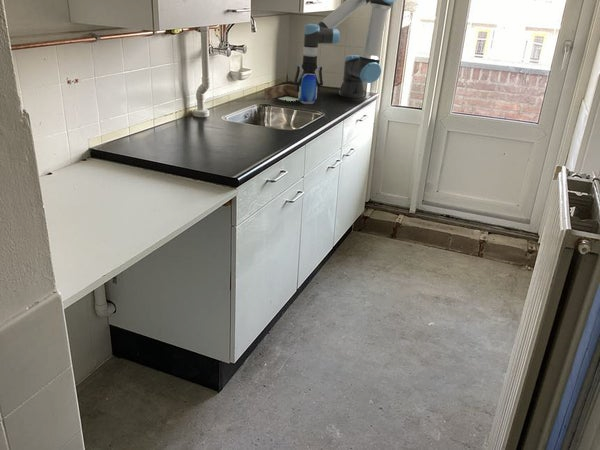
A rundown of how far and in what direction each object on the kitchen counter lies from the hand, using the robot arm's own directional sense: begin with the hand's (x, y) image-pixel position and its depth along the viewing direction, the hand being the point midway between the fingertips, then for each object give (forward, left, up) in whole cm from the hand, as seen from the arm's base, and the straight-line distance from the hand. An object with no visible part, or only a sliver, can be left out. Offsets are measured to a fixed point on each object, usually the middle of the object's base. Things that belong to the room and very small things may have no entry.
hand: (307, 98), depth 292 cm
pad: (+1, -11, -3) cm, 12 cm away
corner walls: (+2, -12, -3) cm, 12 cm away
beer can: (0, 0, -3) cm, 3 cm away
